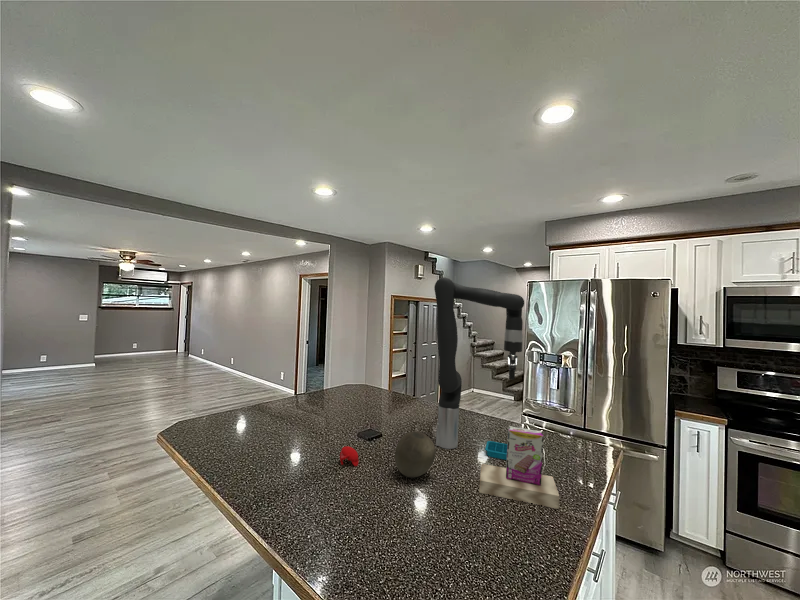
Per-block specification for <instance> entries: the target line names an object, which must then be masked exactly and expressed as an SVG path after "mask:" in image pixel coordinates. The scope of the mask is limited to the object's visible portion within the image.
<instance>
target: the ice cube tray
mask: <svg viewBox="0 0 800 600" xmlns="http://www.w3.org/2000/svg"><path fill="white" fill-rule="evenodd" d="M507 445H508V443H504V442H503V443H502V442H498V441H493V440H492V441H491V440H488V441H486V444H485V447H484V448H485V449H484V451H486V456H487V455H488V456H487V457H489V456H490V457H489V458H495V459H498V460H499V459H501V460H505V461H507Z"/></svg>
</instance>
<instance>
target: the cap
mask: <svg viewBox="0 0 800 600" xmlns="http://www.w3.org/2000/svg"><path fill="white" fill-rule="evenodd" d="M346 460H347V462H351V464H352V465H353V466H354V467H358V466H359V462H360V461H359V454H358V451H357V450H355V448H353V447H351V446H348V445H346V446H343V447H342V448H341V451H340V453H339V461H340V465H341V466H344V461H346Z"/></svg>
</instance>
